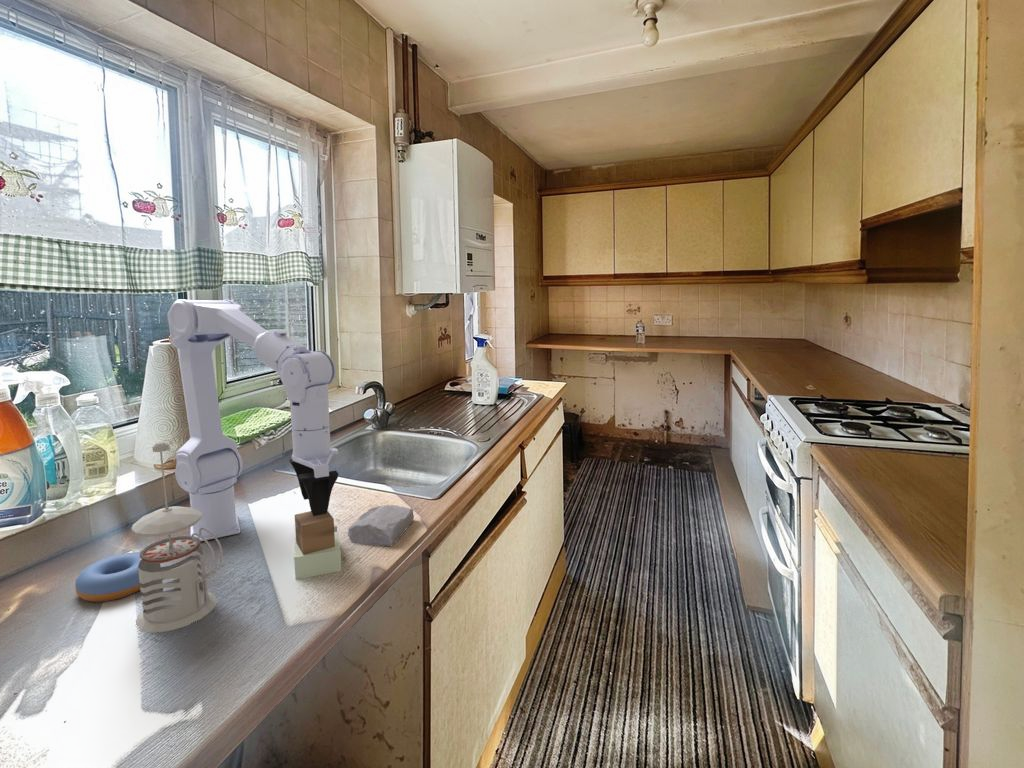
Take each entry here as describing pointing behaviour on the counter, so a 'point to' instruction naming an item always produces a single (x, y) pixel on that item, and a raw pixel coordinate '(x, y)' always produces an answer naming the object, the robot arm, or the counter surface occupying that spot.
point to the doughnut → (109, 578)
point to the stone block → (381, 525)
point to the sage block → (318, 561)
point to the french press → (189, 591)
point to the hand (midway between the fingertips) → (314, 505)
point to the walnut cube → (314, 532)
